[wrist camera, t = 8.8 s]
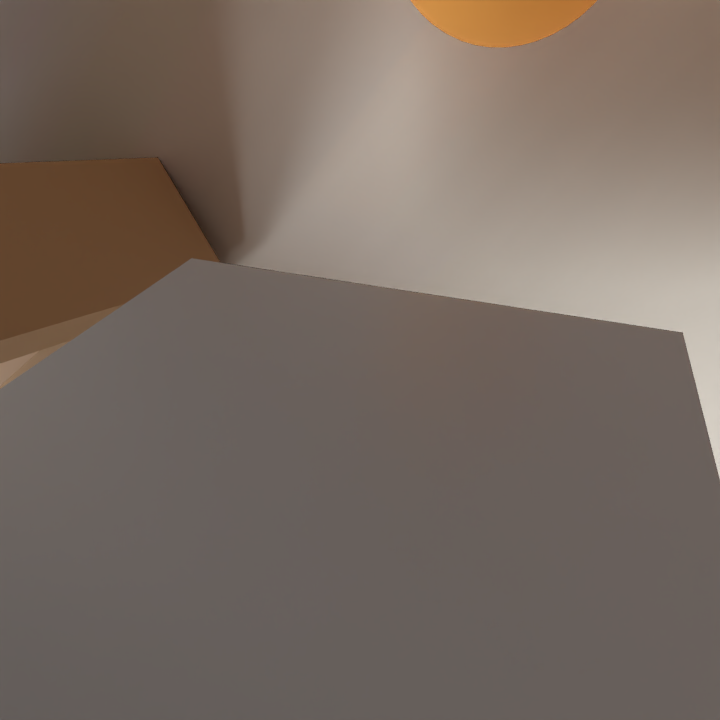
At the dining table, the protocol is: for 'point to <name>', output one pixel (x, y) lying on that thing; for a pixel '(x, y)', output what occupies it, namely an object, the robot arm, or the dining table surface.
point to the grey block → (356, 512)
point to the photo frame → (83, 248)
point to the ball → (501, 19)
